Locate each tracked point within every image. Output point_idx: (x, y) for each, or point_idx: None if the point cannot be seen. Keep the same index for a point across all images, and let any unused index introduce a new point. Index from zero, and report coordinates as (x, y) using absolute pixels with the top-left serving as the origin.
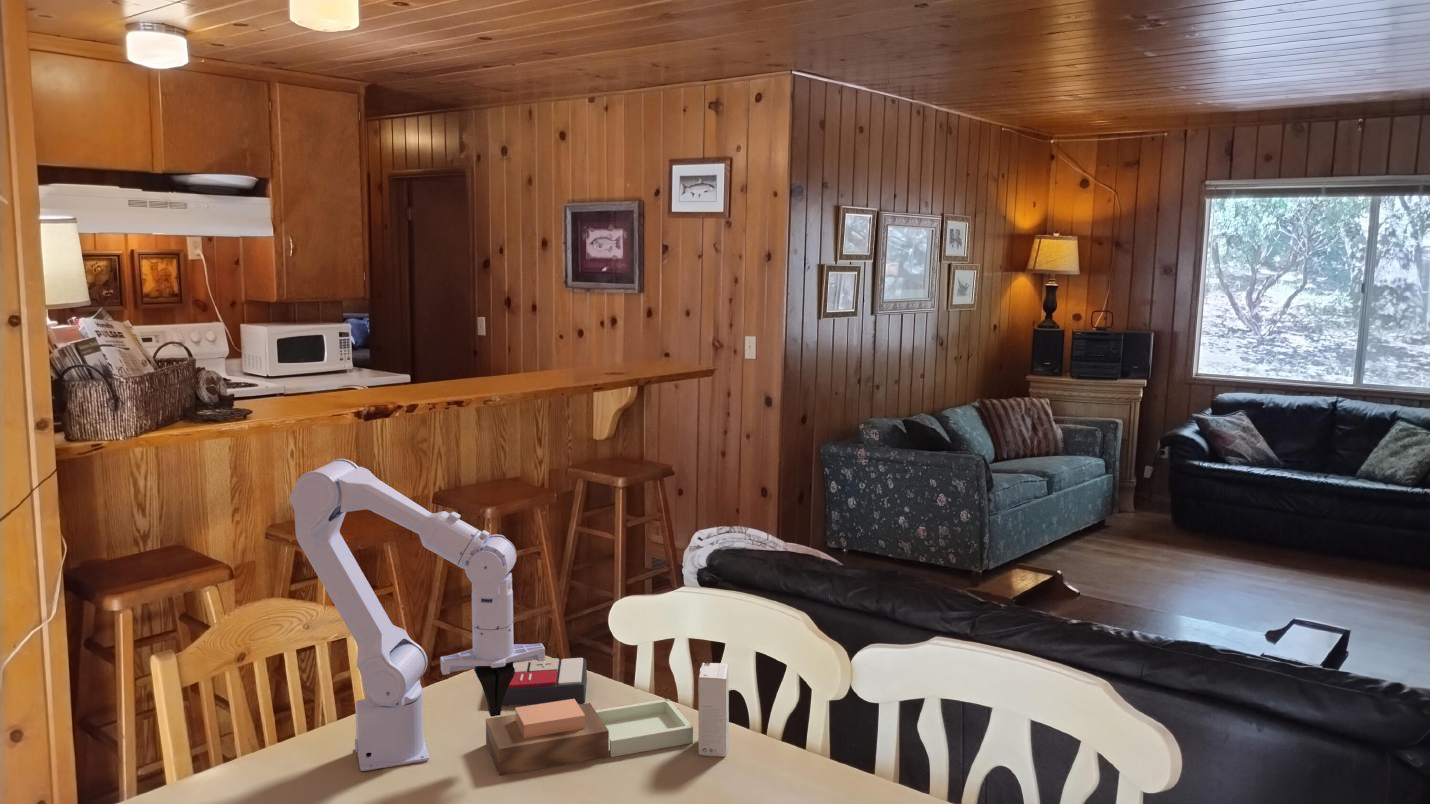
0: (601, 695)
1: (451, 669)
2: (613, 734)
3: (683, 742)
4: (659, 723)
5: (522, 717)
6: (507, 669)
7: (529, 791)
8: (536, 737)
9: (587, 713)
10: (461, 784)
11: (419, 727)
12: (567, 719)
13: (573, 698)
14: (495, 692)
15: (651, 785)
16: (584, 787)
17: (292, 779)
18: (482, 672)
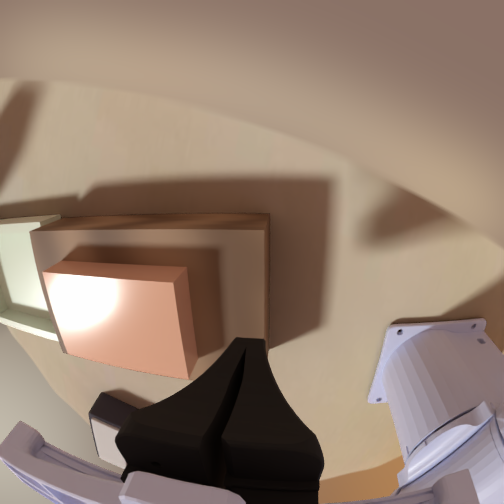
0: (83, 396)
1: (425, 496)
2: None
3: None
4: (9, 283)
5: (174, 326)
6: (150, 457)
7: (217, 121)
8: (156, 258)
9: None
10: (356, 207)
11: (412, 382)
12: (73, 273)
13: (111, 403)
14: (234, 403)
15: (33, 104)
16: (114, 112)
17: None
18: (285, 480)
